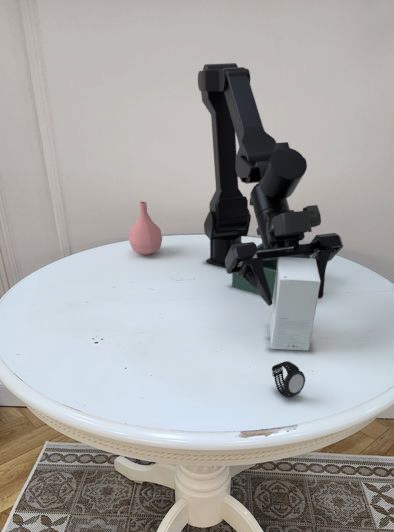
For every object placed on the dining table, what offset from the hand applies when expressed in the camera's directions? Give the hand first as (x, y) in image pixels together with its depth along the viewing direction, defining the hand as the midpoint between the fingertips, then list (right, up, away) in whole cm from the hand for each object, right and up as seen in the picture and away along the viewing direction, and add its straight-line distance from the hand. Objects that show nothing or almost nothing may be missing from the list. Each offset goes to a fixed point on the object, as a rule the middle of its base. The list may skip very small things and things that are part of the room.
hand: (295, 301), depth 85 cm
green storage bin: (+1, +6, +24) cm, 25 cm away
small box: (0, -6, +6) cm, 8 cm away
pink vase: (-28, +15, +39) cm, 50 cm away
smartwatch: (-2, -14, -7) cm, 16 cm away
